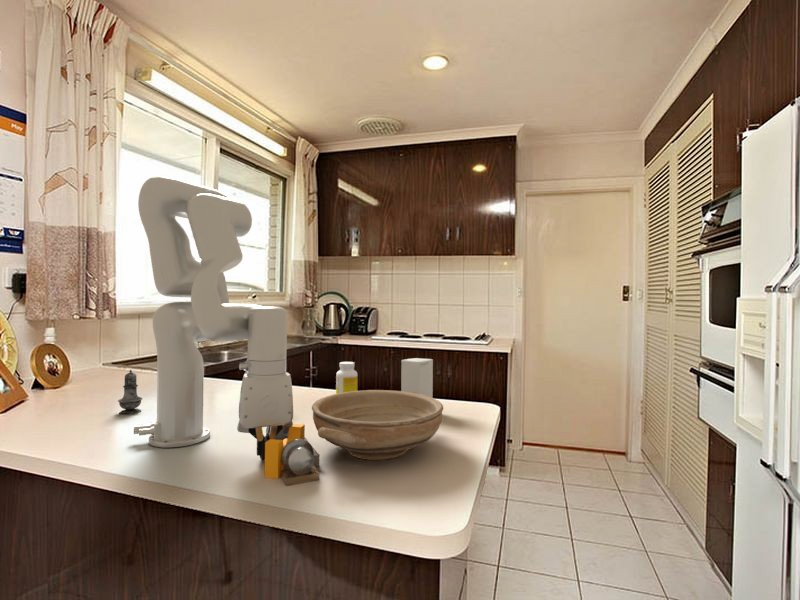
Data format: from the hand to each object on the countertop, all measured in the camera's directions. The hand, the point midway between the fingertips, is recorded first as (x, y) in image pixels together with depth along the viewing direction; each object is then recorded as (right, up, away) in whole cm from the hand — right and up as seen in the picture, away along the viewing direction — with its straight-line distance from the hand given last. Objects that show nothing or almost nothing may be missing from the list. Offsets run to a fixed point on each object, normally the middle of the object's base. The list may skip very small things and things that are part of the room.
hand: (264, 457), depth 87 cm
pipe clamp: (+4, -1, -2) cm, 5 cm away
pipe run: (+4, -1, +2) cm, 5 cm away
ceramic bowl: (+22, -1, +8) cm, 24 cm away
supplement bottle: (+11, -1, +47) cm, 48 cm away
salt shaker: (-49, 0, +34) cm, 60 cm away
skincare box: (+32, -1, +38) cm, 49 cm away
